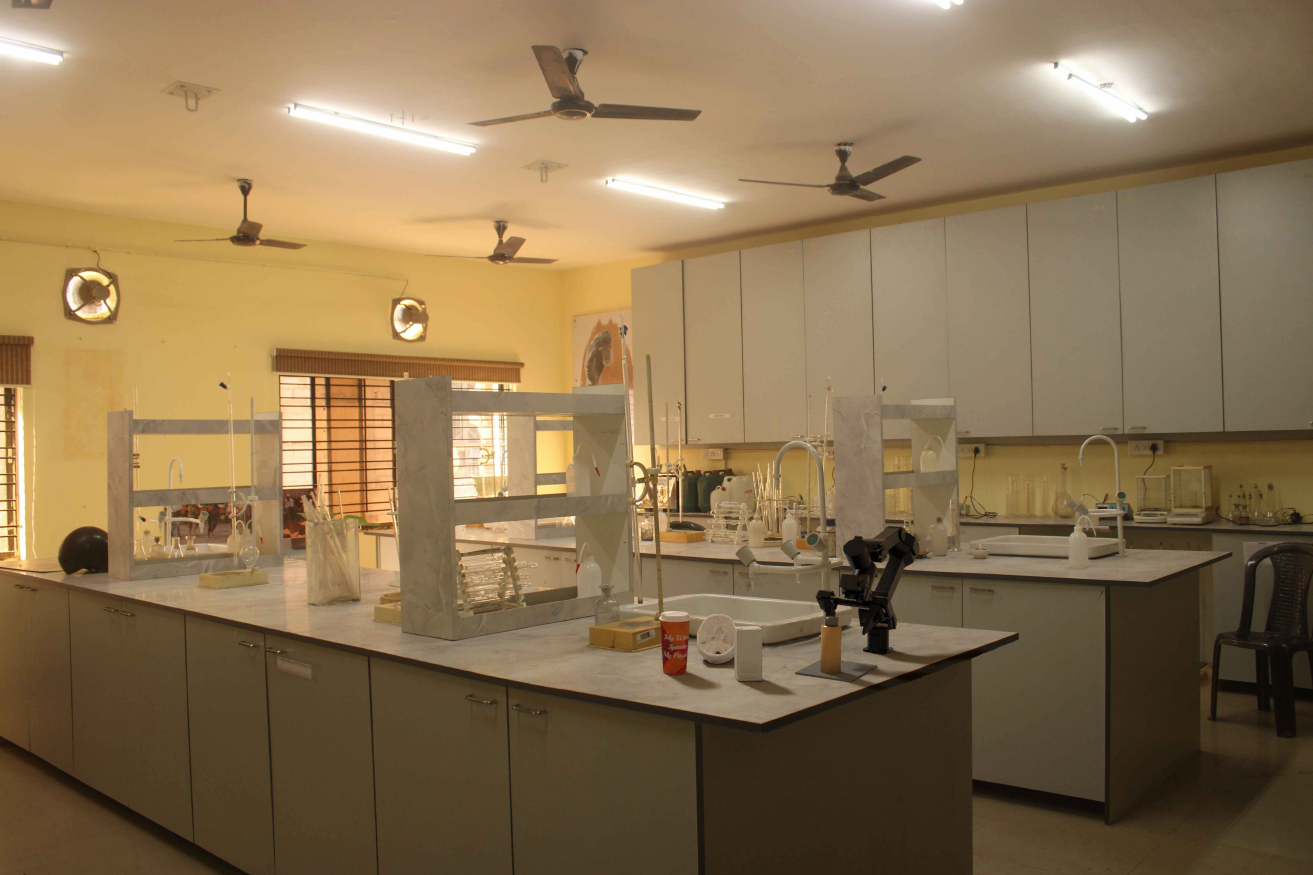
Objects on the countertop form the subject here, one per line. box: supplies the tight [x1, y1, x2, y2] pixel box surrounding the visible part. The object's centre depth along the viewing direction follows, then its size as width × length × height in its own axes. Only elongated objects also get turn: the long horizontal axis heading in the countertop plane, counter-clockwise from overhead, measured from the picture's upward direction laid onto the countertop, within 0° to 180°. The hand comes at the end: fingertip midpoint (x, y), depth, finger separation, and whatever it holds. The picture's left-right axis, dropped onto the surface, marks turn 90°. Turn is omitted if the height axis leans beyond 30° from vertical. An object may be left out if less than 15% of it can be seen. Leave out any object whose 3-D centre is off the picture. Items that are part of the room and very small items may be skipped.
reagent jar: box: [820, 615, 843, 674], centre depth 228 cm, size 5×5×13 cm
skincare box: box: [733, 625, 763, 682], centre depth 222 cm, size 6×4×12 cm
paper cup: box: [658, 610, 692, 676], centre depth 229 cm, size 8×8×14 cm
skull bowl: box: [696, 613, 737, 665], centre depth 243 cm, size 10×14×12 cm
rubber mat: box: [794, 659, 878, 683], centre depth 232 cm, size 18×14×1 cm
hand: (845, 631), depth 235 cm, fingers open, 9 cm apart
